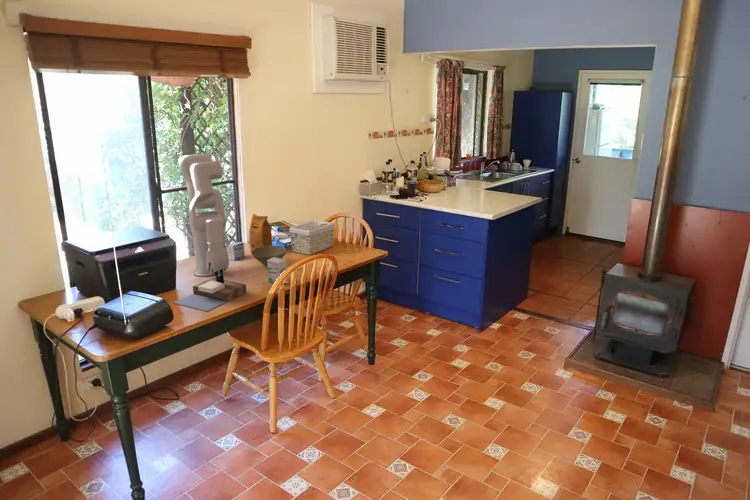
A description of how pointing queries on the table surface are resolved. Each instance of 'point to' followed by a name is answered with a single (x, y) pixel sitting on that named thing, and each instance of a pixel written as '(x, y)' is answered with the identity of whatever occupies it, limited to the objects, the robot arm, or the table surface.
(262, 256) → the bowl
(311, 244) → the storage basket
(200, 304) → the mat
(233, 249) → the medicine box
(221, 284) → the coaster
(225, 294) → the brown flat block
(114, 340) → the table surface
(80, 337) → the table surface
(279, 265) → the ink box
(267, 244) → the coffee package
